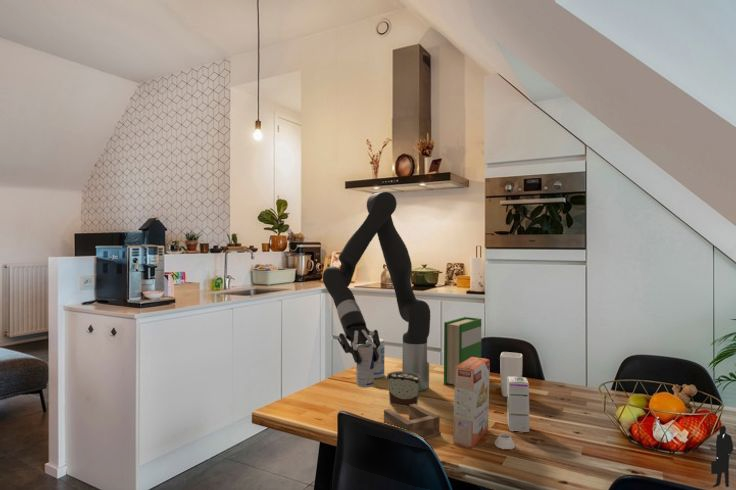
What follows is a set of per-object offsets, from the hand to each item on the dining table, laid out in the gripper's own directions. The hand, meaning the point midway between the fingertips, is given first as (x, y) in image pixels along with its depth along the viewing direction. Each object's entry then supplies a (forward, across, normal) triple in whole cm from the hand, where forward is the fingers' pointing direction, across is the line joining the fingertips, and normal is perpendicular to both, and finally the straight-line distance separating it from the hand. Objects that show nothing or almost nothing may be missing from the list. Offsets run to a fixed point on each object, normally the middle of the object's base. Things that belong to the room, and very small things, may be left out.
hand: (368, 361), depth 136 cm
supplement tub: (-15, +24, +41) cm, 50 cm away
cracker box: (+30, +20, -4) cm, 36 cm away
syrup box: (+31, +36, -6) cm, 48 cm away
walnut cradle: (+22, +7, +3) cm, 23 cm away
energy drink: (+4, 0, +7) cm, 8 cm away
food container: (+8, +18, +18) cm, 27 cm away
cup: (+17, +56, +10) cm, 59 cm away
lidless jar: (+36, +24, -10) cm, 44 cm away
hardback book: (+1, +52, +25) cm, 58 cm away
